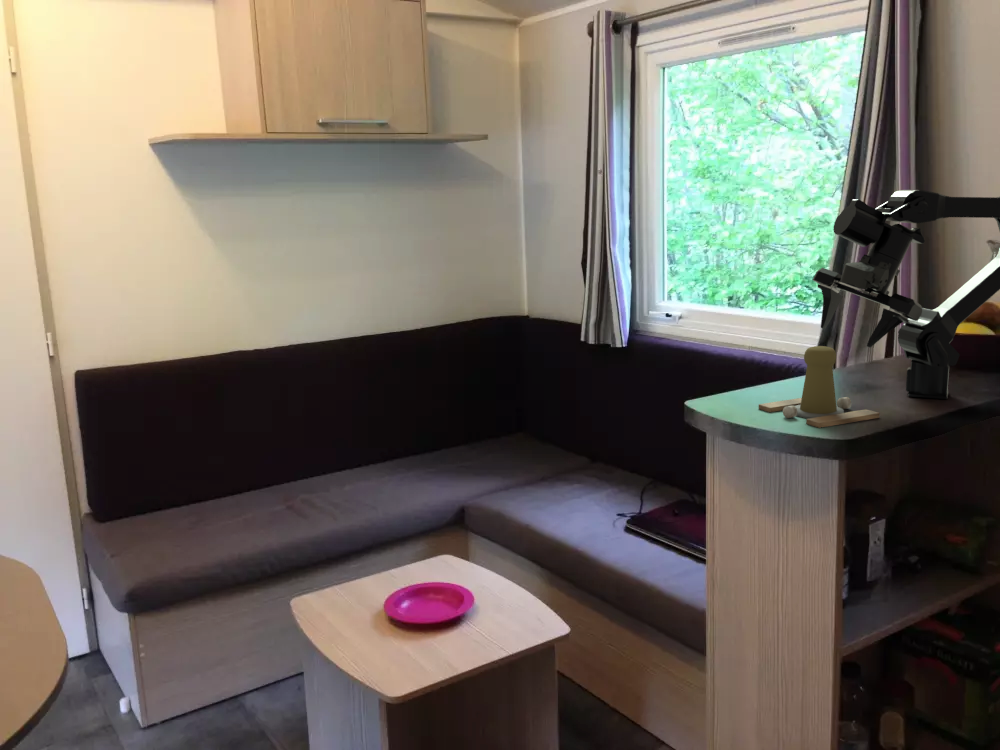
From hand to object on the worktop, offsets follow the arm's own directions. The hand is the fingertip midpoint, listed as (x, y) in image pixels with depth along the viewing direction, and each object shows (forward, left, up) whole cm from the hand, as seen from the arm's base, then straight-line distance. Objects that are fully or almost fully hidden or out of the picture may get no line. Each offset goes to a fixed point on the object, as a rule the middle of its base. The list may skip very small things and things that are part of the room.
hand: (845, 337), depth 163 cm
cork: (+3, +11, -11) cm, 16 cm away
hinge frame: (+3, +11, -11) cm, 16 cm away
